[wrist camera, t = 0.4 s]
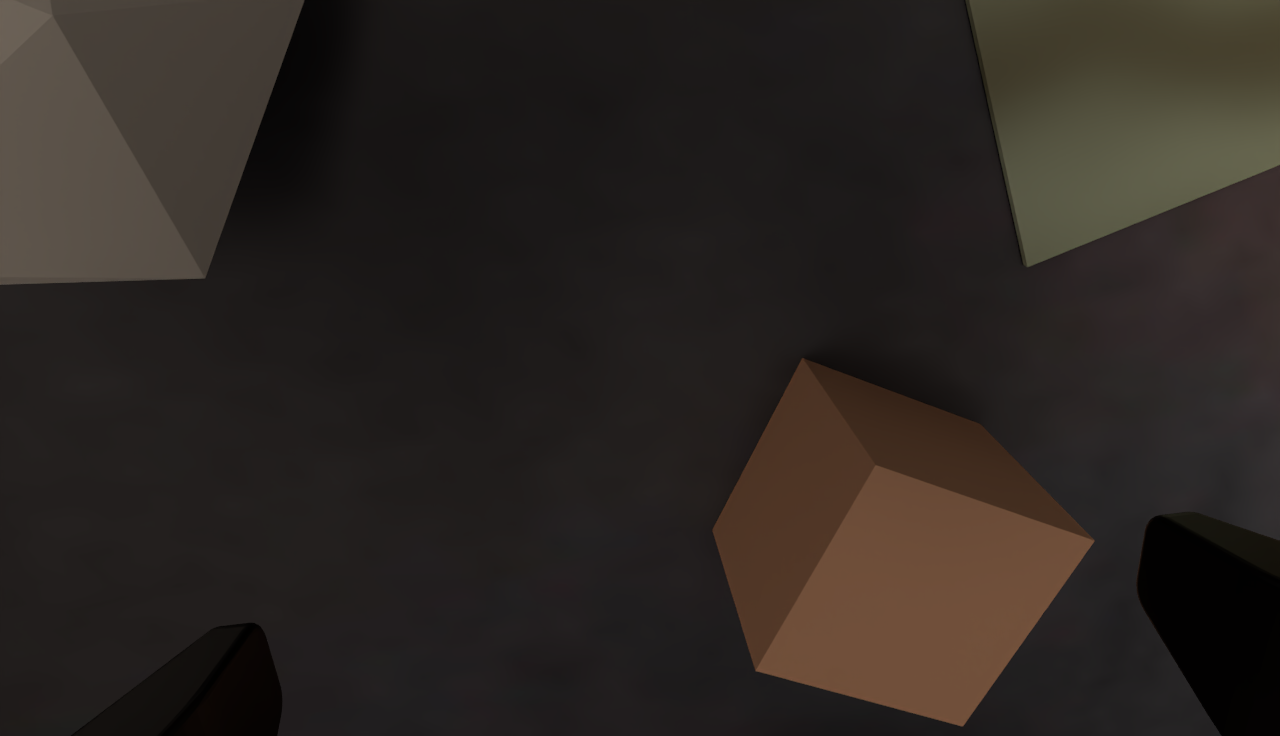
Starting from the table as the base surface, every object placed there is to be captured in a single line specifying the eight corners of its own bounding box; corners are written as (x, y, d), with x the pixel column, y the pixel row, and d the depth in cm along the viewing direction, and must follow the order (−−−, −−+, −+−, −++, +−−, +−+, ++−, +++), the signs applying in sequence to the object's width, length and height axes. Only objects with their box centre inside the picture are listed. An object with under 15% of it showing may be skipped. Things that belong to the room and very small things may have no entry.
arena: (1379, 372, 24) (1505, 431, 21) (803, 595, 25) (840, 683, 22) (1348, -536, 16) (1547, -664, 13) (501, -148, 17) (491, -176, 14)
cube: (978, 422, 24) (1094, 540, 19) (881, 580, 26) (962, 726, 21) (801, 357, 22) (875, 465, 18) (711, 528, 24) (755, 670, 19)
